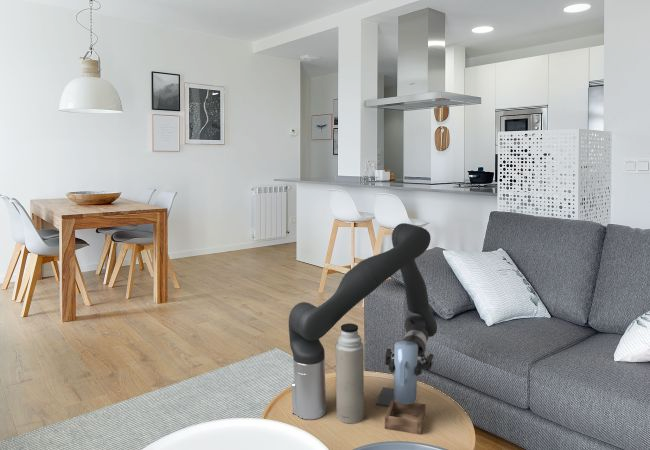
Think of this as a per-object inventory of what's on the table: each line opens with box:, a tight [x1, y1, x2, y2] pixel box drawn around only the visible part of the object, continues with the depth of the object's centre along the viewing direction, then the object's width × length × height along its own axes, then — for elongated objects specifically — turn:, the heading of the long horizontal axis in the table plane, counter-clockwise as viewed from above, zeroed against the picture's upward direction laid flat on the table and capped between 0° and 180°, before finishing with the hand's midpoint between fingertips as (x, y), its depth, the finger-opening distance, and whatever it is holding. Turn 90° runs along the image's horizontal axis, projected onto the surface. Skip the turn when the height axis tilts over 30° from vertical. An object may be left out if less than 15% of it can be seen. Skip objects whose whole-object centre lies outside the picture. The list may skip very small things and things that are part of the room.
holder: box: [384, 399, 427, 435], centre depth 148 cm, size 10×10×4 cm
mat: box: [375, 386, 394, 408], centre depth 161 cm, size 10×10×1 cm
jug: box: [393, 340, 418, 404], centre depth 144 cm, size 6×9×16 cm
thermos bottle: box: [335, 322, 365, 424], centre depth 149 cm, size 8×8×28 cm
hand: (404, 370), depth 143 cm, fingers closed on jug, 6 cm apart
